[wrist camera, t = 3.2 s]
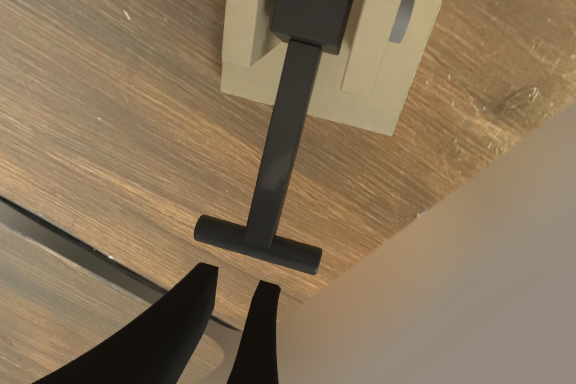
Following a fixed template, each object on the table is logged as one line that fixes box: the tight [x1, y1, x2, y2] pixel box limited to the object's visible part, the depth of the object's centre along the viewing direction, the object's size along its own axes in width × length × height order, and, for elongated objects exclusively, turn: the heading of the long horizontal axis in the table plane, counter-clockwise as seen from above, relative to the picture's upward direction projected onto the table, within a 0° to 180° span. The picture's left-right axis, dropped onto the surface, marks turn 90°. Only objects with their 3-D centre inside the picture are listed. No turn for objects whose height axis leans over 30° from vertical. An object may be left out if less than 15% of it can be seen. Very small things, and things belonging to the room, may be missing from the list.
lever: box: [194, 0, 353, 275], centre depth 13 cm, size 11×5×2 cm, turn 169°
